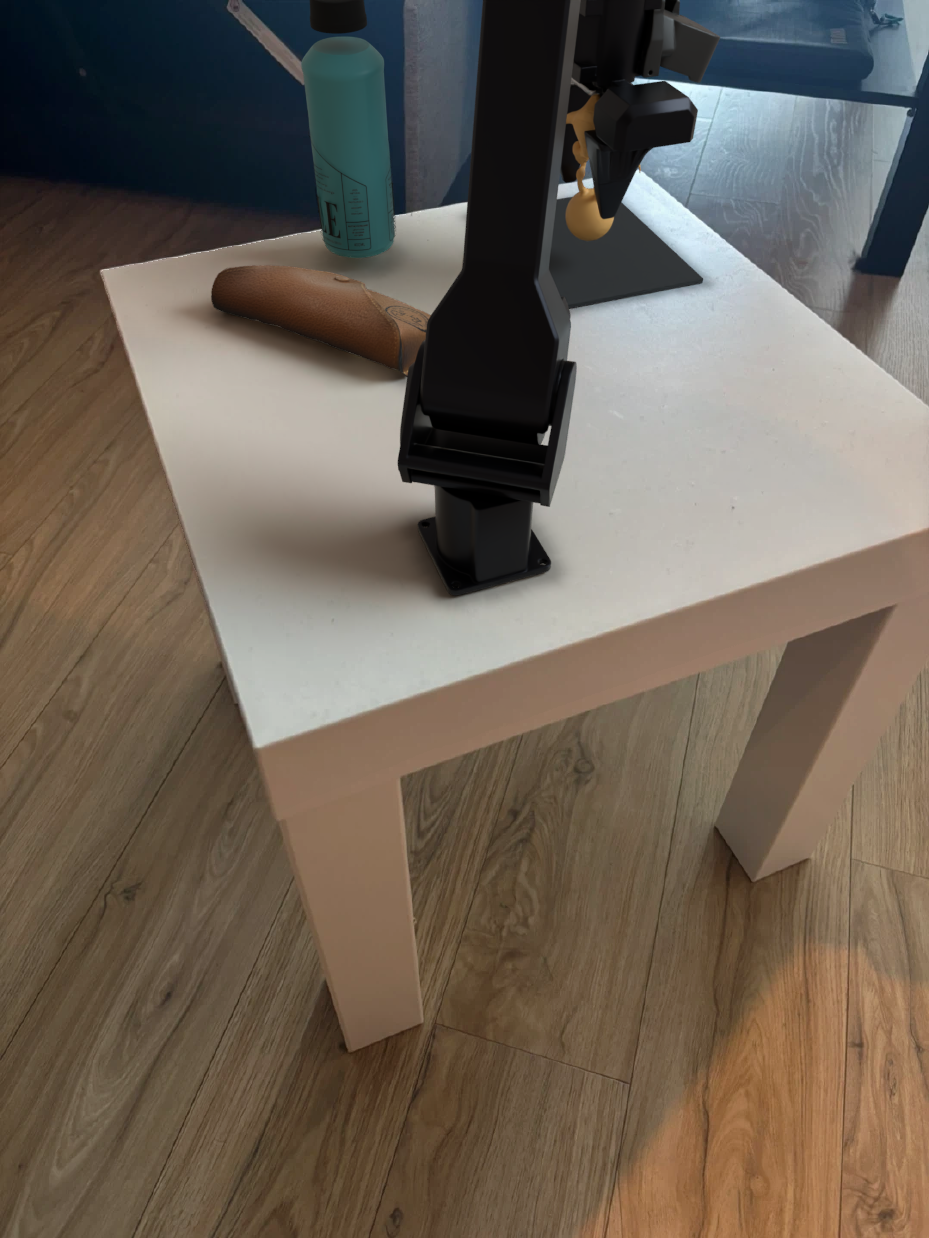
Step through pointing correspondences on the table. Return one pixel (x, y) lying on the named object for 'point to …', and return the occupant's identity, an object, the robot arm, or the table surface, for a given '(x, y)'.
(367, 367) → the table surface
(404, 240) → the table surface
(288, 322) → the sunglasses case
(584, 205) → the figurine
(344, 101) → the beverage bottle
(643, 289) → the mat
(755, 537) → the table surface
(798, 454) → the table surface
